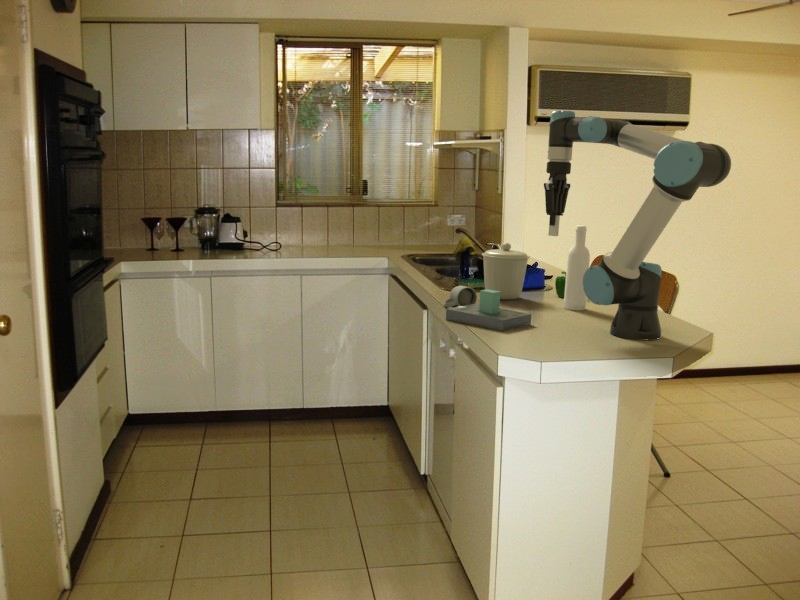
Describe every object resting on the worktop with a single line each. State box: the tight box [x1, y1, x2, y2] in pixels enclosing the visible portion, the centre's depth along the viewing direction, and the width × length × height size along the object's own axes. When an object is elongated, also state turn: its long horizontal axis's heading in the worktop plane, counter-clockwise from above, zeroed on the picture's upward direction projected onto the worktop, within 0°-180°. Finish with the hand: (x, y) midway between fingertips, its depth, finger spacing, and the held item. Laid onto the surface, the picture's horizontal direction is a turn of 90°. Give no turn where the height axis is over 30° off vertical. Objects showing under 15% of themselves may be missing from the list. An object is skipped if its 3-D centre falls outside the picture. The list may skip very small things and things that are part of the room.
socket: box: [445, 303, 532, 332], centre depth 253 cm, size 22×16×4 cm
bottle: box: [562, 224, 591, 312], centre depth 282 cm, size 8×8×30 cm
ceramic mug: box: [443, 285, 478, 308], centre depth 277 cm, size 11×8×8 cm
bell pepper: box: [554, 270, 566, 299], centre depth 308 cm, size 8×8×10 cm
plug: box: [478, 289, 501, 314], centre depth 252 cm, size 5×4×9 cm
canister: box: [481, 242, 530, 301], centre depth 299 cm, size 18×18×21 cm
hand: (553, 235), depth 252 cm, fingers closed
